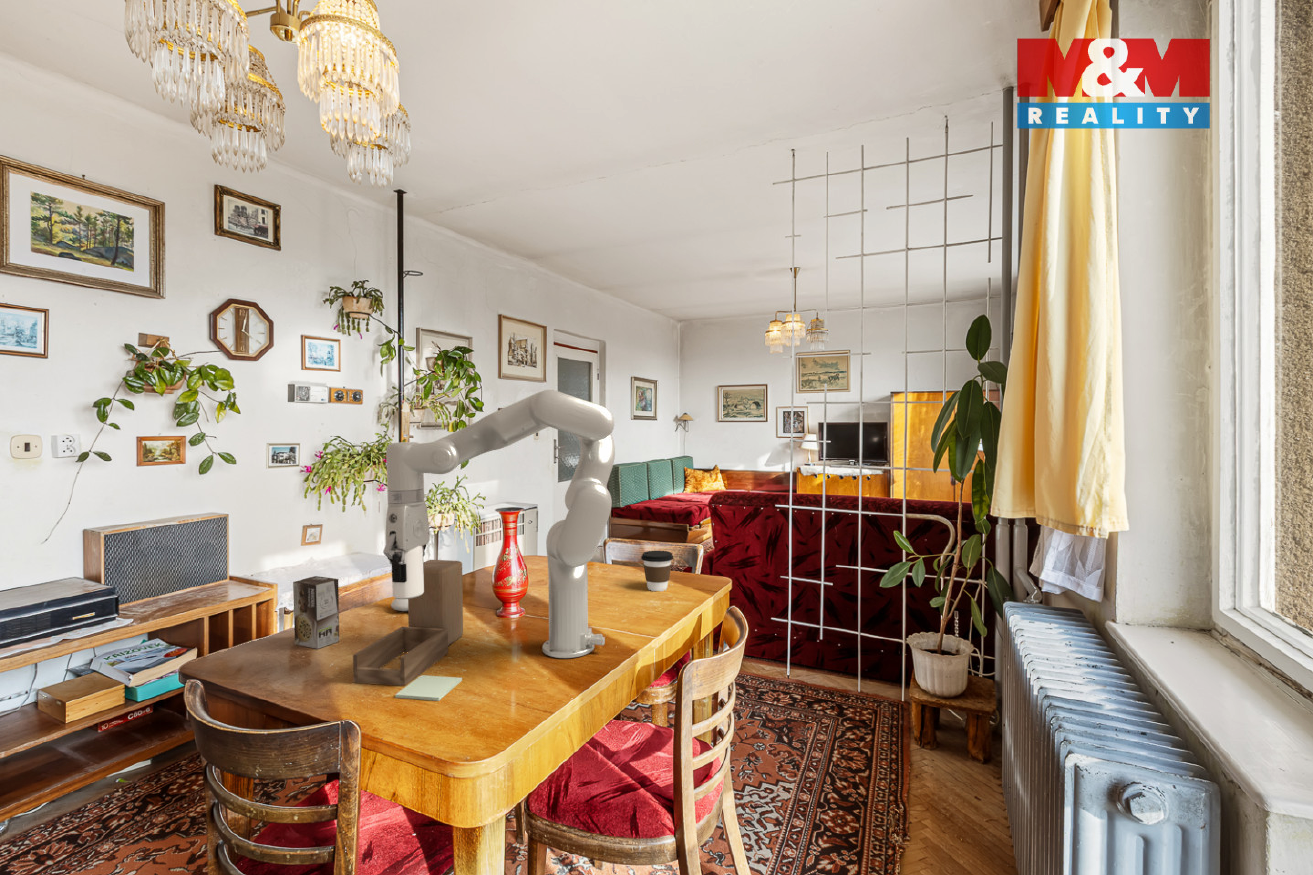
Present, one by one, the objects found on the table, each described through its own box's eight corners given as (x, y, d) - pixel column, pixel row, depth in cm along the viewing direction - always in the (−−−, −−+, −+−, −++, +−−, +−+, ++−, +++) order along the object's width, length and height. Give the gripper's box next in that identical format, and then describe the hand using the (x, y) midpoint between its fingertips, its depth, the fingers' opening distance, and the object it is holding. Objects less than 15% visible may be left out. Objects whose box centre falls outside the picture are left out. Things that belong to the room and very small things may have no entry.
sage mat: (461, 680, 127) (461, 677, 127) (438, 700, 118) (438, 697, 118) (421, 677, 129) (421, 675, 129) (395, 697, 119) (395, 694, 119)
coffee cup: (638, 592, 193) (638, 556, 193) (644, 584, 204) (644, 549, 204) (671, 594, 192) (671, 557, 191) (675, 585, 202) (675, 550, 202)
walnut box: (448, 653, 142) (447, 628, 142) (404, 685, 125) (404, 657, 124) (402, 650, 144) (402, 626, 144) (353, 682, 126) (352, 654, 126)
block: (443, 650, 144) (442, 569, 144) (407, 647, 146) (405, 567, 146) (464, 636, 154) (463, 560, 154) (430, 633, 156) (429, 558, 156)
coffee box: (340, 641, 151) (339, 578, 151) (317, 649, 145) (316, 584, 145) (317, 636, 155) (316, 575, 155) (293, 644, 149) (292, 580, 149)
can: (393, 601, 128) (391, 546, 127) (392, 593, 133) (390, 541, 133) (425, 596, 130) (423, 543, 130) (422, 589, 136) (421, 538, 136)
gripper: (397, 502, 122) (399, 589, 123) (442, 493, 139) (444, 569, 140) (365, 502, 124) (367, 588, 124) (413, 493, 141) (415, 568, 141)
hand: (408, 577), depth 132 cm, fingers closed on can, 5 cm apart
